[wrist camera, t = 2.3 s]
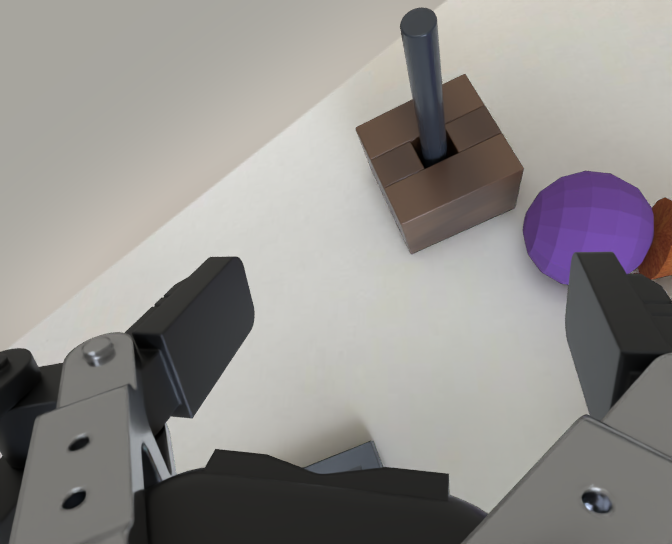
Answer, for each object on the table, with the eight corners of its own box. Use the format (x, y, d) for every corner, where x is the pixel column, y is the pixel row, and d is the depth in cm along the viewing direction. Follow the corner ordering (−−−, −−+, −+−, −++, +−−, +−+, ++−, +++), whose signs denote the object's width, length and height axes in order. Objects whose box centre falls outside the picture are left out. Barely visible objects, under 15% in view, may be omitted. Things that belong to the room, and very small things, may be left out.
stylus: (433, 200, 31) (408, 43, 18) (424, 183, 31) (394, 17, 18) (453, 190, 31) (442, 25, 18) (444, 174, 31) (427, 0, 18)
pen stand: (411, 254, 30) (400, 225, 26) (370, 168, 33) (354, 127, 28) (515, 207, 29) (524, 168, 25) (465, 122, 32) (465, 72, 27)
